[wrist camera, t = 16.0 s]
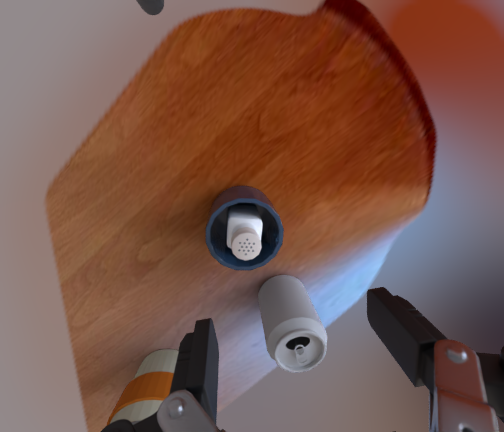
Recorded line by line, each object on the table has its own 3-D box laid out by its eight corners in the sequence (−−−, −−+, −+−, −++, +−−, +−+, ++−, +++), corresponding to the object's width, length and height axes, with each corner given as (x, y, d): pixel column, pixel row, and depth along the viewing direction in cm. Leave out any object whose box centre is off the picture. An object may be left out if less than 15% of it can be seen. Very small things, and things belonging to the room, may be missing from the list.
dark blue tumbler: (199, 232, 37) (193, 254, 30) (225, 174, 35) (224, 185, 28) (256, 254, 39) (262, 280, 32) (284, 201, 36) (296, 217, 30)
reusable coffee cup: (166, 407, 47) (139, 527, 33) (112, 368, 43) (56, 485, 29) (220, 370, 45) (216, 481, 31) (169, 327, 41) (139, 430, 27)
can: (299, 266, 40) (328, 320, 29) (307, 305, 42) (336, 369, 31) (252, 278, 40) (262, 337, 29) (263, 316, 42) (276, 385, 31)
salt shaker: (228, 202, 35) (228, 228, 26) (257, 205, 36) (267, 230, 27) (226, 230, 36) (226, 263, 27) (254, 231, 37) (263, 264, 28)
